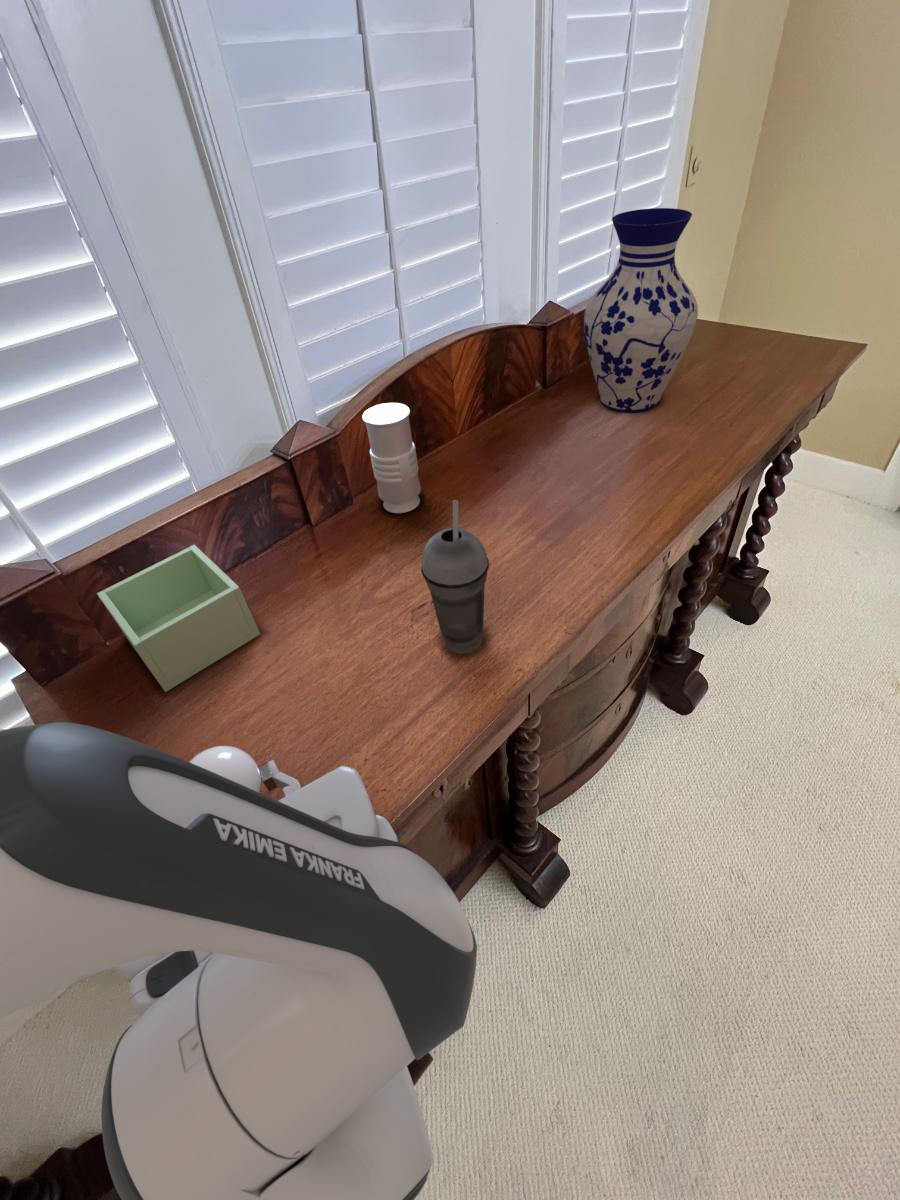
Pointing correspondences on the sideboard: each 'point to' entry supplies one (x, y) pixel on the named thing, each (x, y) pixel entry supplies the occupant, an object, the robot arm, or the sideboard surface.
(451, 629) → the beverage cup
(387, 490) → the white ribbed cylinder
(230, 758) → the lightbulb
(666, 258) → the vase
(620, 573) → the sideboard surface
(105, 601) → the bin
